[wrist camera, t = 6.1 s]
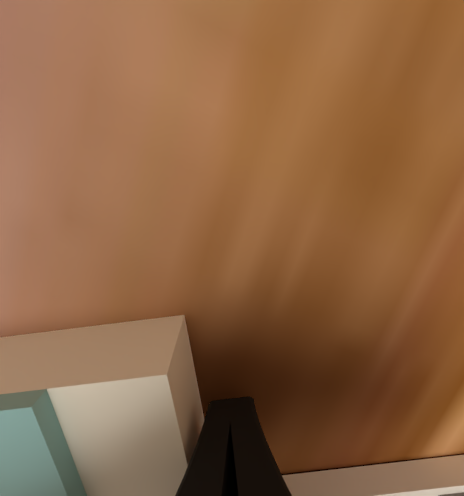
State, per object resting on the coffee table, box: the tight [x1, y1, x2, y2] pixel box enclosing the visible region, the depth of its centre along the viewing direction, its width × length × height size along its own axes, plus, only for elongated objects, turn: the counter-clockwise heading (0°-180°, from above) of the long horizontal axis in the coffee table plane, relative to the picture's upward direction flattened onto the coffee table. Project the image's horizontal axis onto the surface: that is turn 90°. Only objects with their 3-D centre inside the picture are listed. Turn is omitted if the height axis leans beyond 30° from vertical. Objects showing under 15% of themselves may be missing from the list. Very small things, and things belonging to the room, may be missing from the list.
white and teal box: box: [0, 315, 204, 496], centre depth 8 cm, size 6×8×4 cm
